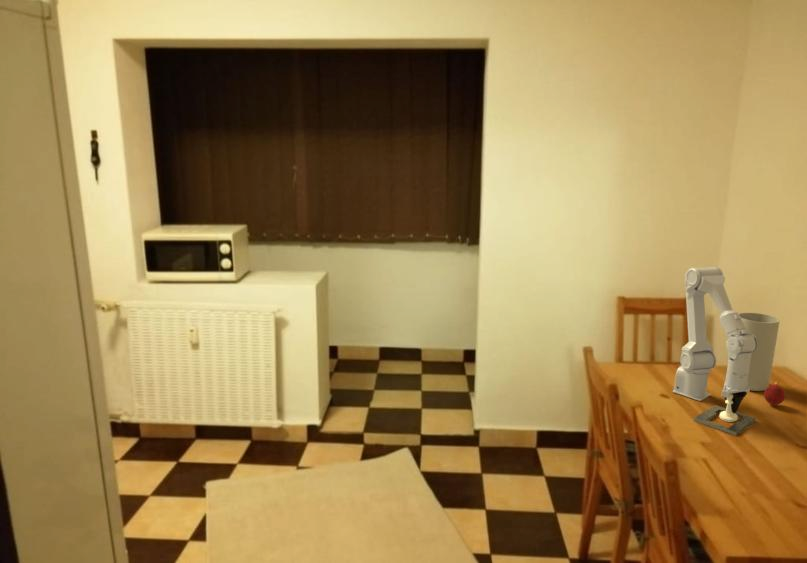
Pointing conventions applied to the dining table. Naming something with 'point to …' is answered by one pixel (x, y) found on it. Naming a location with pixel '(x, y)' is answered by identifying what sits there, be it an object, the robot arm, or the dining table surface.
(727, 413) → the chess piece
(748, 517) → the dining table surface
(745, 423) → the keyhole plate
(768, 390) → the onion
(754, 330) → the cylinder vase
